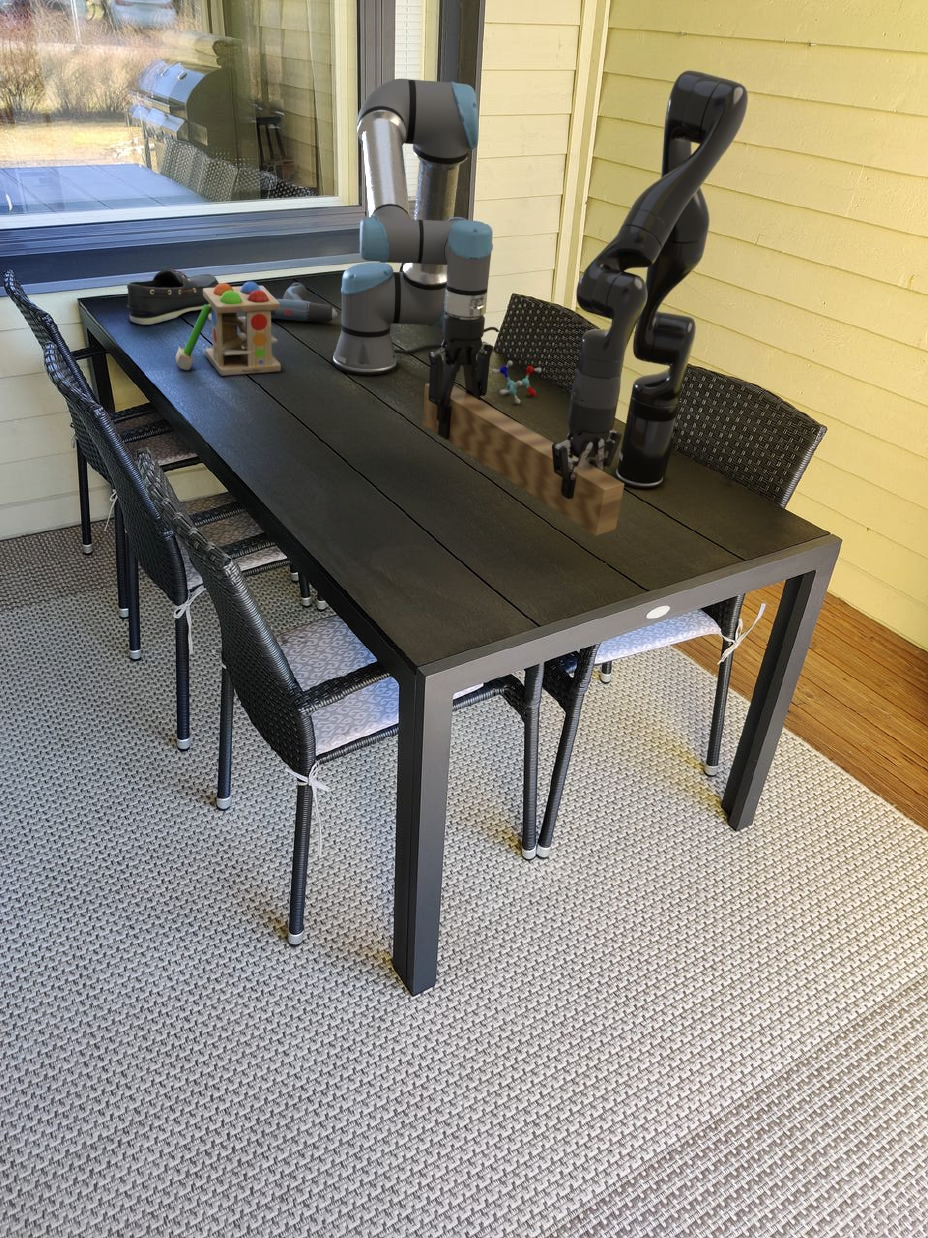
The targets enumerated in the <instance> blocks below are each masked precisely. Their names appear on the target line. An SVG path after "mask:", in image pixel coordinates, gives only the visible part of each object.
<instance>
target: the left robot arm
mask: <svg viewBox="0 0 928 1238" xmlns="http://www.w3.org/2000/svg"><path fill="white" fill-rule="evenodd" d="M356 123H357V124H356V132H357V140H358V143H359V144H360V146H361V148H363V155H364V169H365V170H364V171H365V179H366V181H365V183H366V195H367V196H366V197H367V208H368V216H364V217H362V218H361V219H360V222H359V253H360V257H361V258H362V259H363V260H364V261H368V262H364V263H363V262H362V263H358V264H355V265H352V266H350V267H348V268H346V269H345V271H344V272H343V274H342V277H341V278H342V281H341V287H340V293H341V320H340V321H341V324H340V325H341V326H340V329H341V330H340V336H339V338H338V341H337V344H336V348H335V350H334V352H333V361H332V362H333V363H332V364H333V366H334V367H335V368H337V369H338V370H339V371H342V372H344V373H347V374H352V375H356V376H380V375H381V376H382V375H386V374H389V373H391V372H393V371H395V369H396V368H397V361H398V360H397V354H403V355H407V354H413V353H416V352H419V351H422V350H425V349H430V350H429V352H428V358H429V362H430V366H429V367H430V368H429V382H428V383H429V397H428V399H429V401H430V402H432V403H434V404H435V405H437V416H436V418H437V420H438V421H439V426H438V434H437V435H438V436H439V437H440V438H442V437H443V438H442V439H444V440H445V441H447V439H449V436H450V423H451V410H452V407H451V406H449V405H448V404H449V401H450V397H451V393H452V390H453V386H455V382H456V377H457V374H458V373H459V372H460V370H461V368H462V369H463V378H464V386H465V392H466V393H467V394H469V395H471V396H473V397H474V398H476V399H478V400H480V401H481V402H482V398H481V397H485V396H486V395H487V392H488V382H489V372H490V365H491V364H490V363H491V357H492V355H493V351H494V346H493V345H492V344H490V343H489V342H486V341H483V340H482V338H483V337H484V335H485V334H484V333H487V332H489V331H495V332H496V333H500V330H499V329H498V327H495V326H490V327H486V328H485V324H486V318H485V316H484V315H485V314H486V312H487V302H488V301H487V300H488V291H489V290H488V289H489V280H490V270H491V269H490V268H491V259H492V252H493V249H494V244H493V235H494V234H493V228H492V227H491V225H490V224H488V223H484V222H483V221H478V220H472V219H471V220H470V219H466V218H464V217H460V216H455V215H454V214H455V205H456V197H457V189H458V181H459V173H460V165H462V164H463V163H464V162H466V161H467V159H468V157H469V151H470V150H474V149H476V148H477V147H478V145H479V132H480V127H479V125H480V123H479V108H478V99H477V95H476V91H475V89H474V88H473V87H472V86H471V85H469V84H467V83H466V84H465V83H458V82H454V81H450V82H449V81H437V80H423V79H409V78H395V79H390V80H388V81H386V82H384V83H382V84H381V85H379V86H378V87H376V88H375V89H373V91H372V92H370V94H369V95H368V96H367V97H366V99H365V101H364V102H363V103H362V105H361V107H360V110H359V112H358V116H357V121H356ZM404 144H405V145H412V153H413V154H414V156H415V157H416V158H417V159H418V169H417V179H416V180H417V181H416V191H415V192H416V193H415V202H414V203H415V205H414V213H413V215H414V216H413V218H411V212H410V201H409V194H408V193H409V192H408V185H407V177H406V176H407V175H406V166H405V156H404V147H403V146H404ZM391 264H403V267H402V271H394V268H393V266H392V265H391ZM391 325H417V326H418V325H419V326H420V325H423V326H429V327H433V326H442V334H443V341H442V343H431V344H424V345H421V346H418V347H414V348H411V349H406V350H402V349H395V347H394V343H393V341H392V337H391V336H392V335H391ZM431 348H439V349H437V350H435V351H434V350H433V349H431Z"/></svg>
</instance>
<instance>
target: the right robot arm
mask: <svg viewBox="0 0 928 1238" xmlns="http://www.w3.org/2000/svg"><path fill="white" fill-rule="evenodd" d="M748 96H749V95H748V89H747V88H746V86H745V85H743V84H741V82H737V81H735V80H732V79H729V78H724V77H720V76H717V75H713V74H710V73H706V72H702V71H697V70H689V69H688V70H684V71H683V72H681V73H680V74H679V75H678V76H677V78H676V79H675V81H674V83H673V85H672V87H671V90H670V93H669V97H668V100H667V104H666V111H665V119H664V126H663V127H664V129H663V142H662V156H661V158H662V159H661V169H660V170H661V171H660V178H659V179H658V180H656V181H655V182H653V183H652V184H650V185H649V186H648V187H646V189H644V190H643V191H642V193H641V194H640V195H639V196H638V197H637V198H636V199H635V200H634V202H633V204H632V205H631V207H630V209H629V211H628V213H627V215H626V216H625V218H624V220H623V222H622V224H621V226H620V228H619V230H618V232H617V234H616V235H615V236H614V237H613V238H612V239H611V241H609V243H608V244H607V245H606V246H605V247H604V248H603V249H602V250H601V252H599V253H598V254H597V256H596V257H595V258H594V259H593V260H592V261H591V262H590V263H589V264H588V266H587V267H586V268H585V269H584V271H583V272H582V274H581V275H580V278H579V279H578V282H577V284H576V285H577V286H576V291H575V293H576V295H575V296H576V297H575V298H576V303H577V304H578V306H579V308H580V309H581V310H582V311H584V312H586V313H589V314H592V315H596V316H599V317H603V318H605V319H608V320H611V324H610V326H609V328H608V329H607V328H595V329H594V328H593V329H590V330H587V331H586V332H584V334H583V335H582V337H581V340H580V345H579V352H578V356H577V357H578V359H577V363H576V370H575V374H574V377H573V381H572V386H571V394H570V399H569V406H568V413H567V418H566V419H567V423H568V427H569V428H568V429H569V431H568V433H567V435H566V438H565V440H563V441H561V442H560V443H559V442H558V441H554V442H553V444H552V455H553V468H554V473H556V474H558V475H559V476H561V477H563V479H562V486H561V494H562V495H563V496H564V497H566V498H567V499H572V498H573V496H574V489H575V483H576V479H575V478H576V476H577V474H578V471H579V469H580V468H581V467H583V465H584V463H585V461H586V460H587V463H589V464H591V465H593V466H594V467H596V468H598V469H600V470H601V471H603V472H604V469H605V468H610V467H611V466H612V464H613V461H614V458H615V455H616V453H617V451H618V448H619V445H620V442H621V439H622V442H621V448H620V449H619V451H618V457H619V458H618V463H617V468H616V471H615V479H617V480H619V481H621V482H622V483H624V485H626V486H628V487H632V488H636V489H645V490H646V489H648V490H649V489H655V488H658V487H660V486H661V485H662V483H663V481H664V480H665V478H666V472H667V469H668V464H669V460H670V455H671V450H672V446H673V441H674V435H673V432H678V431H679V429H678V430H677V429H673V428H674V426H675V422H676V418H677V413H678V409H679V404H680V399H681V395H682V390H683V384H684V380H685V376H686V372H687V368H688V364H689V360H690V357H691V353H692V350H693V346H694V343H695V342H694V341H695V338H696V330H697V324H696V321H695V319H694V317H691V316H688V315H683V314H676V313H672V312H671V313H670V312H664V311H659V309H660V307H661V305H662V304H663V302H664V301H665V300H666V298H667V296H668V295H669V294H670V293H671V292H672V291H673V290H674V289H675V288H676V287H677V286H678V285H679V284H681V282H683V281H684V280H685V279H686V278H687V277H688V276H689V275H690V274H691V273H693V271H694V270H695V269H696V268H697V266H698V265H699V263H701V261H702V258H703V256H704V252H705V248H706V244H707V238H708V235H709V228H710V212H709V208H708V207H709V206H708V203H707V201H706V198H705V196H704V193H703V190H702V188H701V187H702V186H703V184H704V182H705V181H706V180H707V178H708V177H709V176H710V175H711V173H712V171H713V170H714V169H715V167H716V166H717V165H718V163H719V162H720V160H721V159H722V157H723V156H724V154H725V153H726V152H727V150H728V149H729V148H730V146H731V144H732V143H733V142H734V140H735V138H736V137H737V135H738V132H739V131H740V129H741V127H742V124H743V122H744V119H745V116H746V112H747V109H748V101H749V97H748ZM692 144H697V145H698V147H696V149H695V150H694V151H693V152H692V149H693V148H692V147H693V145H692ZM643 268H644V269H645V268H646V273H645V280H644V279H643V277H641V276H640V275H638V274H635V273H632V272H629V271H627V270H631V269H643ZM633 332H634V334H633ZM632 335H633V342H632V353H633V356H634V357H635V359H637V360H638V361H641V362H644V363H645V362H646V363H651V364H654V365H655V364H656V365H660V366H667V368H666V369H665V370H663V371H660V372H658V373H652V374H646V375H642V376H639V377H638V378H636V379H635V380H634V381H633V383H632V389H631V394H630V399H629V400H630V401H629V403H628V409H627V415H626V416H627V417H626V420H625V425H624V431H623V434H622V433H620V432H619V431H617V430H615V429H614V427H615V426H614V425H615V420H616V416H617V415H616V414H617V408H618V404H619V397H620V393H621V392H620V391H621V384H622V382H621V381H622V371H623V366H624V361H625V355H626V351H627V347H628V345H629V342H630V340H631V337H632ZM622 435H623V436H622ZM607 452H608V454H607ZM606 454H607V455H606ZM573 456H575V457H577V458H579V459H578V460H576V459H574V458H573ZM571 464H572V465H573V468H572V470H571V471H570V470H569V469H570V467H571Z"/></svg>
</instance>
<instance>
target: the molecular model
mask: <svg viewBox="0 0 928 1238" xmlns="http://www.w3.org/2000/svg"><path fill="white" fill-rule="evenodd" d="M513 364H514V363H513V361H512V360H508V361H507V364H506V365H504V366H501V368H500V369H499V368H498V369H496V368H493V369H491V374H493V375H496V374H497V373H501V374H503V375H504V376H505V379H506V380H507V382H506V387H505V388H503V389H502V388H501V389H500V390H499V395H501V396H504V395H507V394H509V395H511V396H513V398H514V400H515V401H514V403H515V404H516V405H520V404H521V399H520V398H518V396H517V392H518V390H517V389H518V388H519V387H521V386H522V387H525V389H526V390H527V391H528V394H529V396H530V397H535V396H536V394H537V391H536V390H535V389H533V388H532V386H531V385H530V380H529V377H530V374H531V373H533V372H536V373H538V374H540V373H541V372H542V368H541V367H537V368H534V367H533V366H532V365H528V366H527V367H526V375H525V378H522V380H518V381H516V382H515V381H513V380H511V379H510V377H509V374H508V372H509V371H508V369H509V367H511V366H513Z"/></svg>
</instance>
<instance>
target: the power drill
mask: <svg viewBox="0 0 928 1238" xmlns="http://www.w3.org/2000/svg"><path fill="white" fill-rule="evenodd" d="M307 295H308V290H307V287H306V285H304V284H303V283H301V282H293V283H292V284H291V285H290V286H289V287H288V288H287V289H286V291H285V292H284V294H283V297H282V298H275V299H276V300H277V301H278V302H279V303H280V310H271V319H274V320H275V319H276V320H283V321H294V322H295V321H297V322H332V321H333V320H334V319H336V318H337V317H338V312H337V311H336V308H334V307H333V306H332V305H331V304H324V303H317V302H313V301H307V300H305V299H306V297H307Z"/></svg>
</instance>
